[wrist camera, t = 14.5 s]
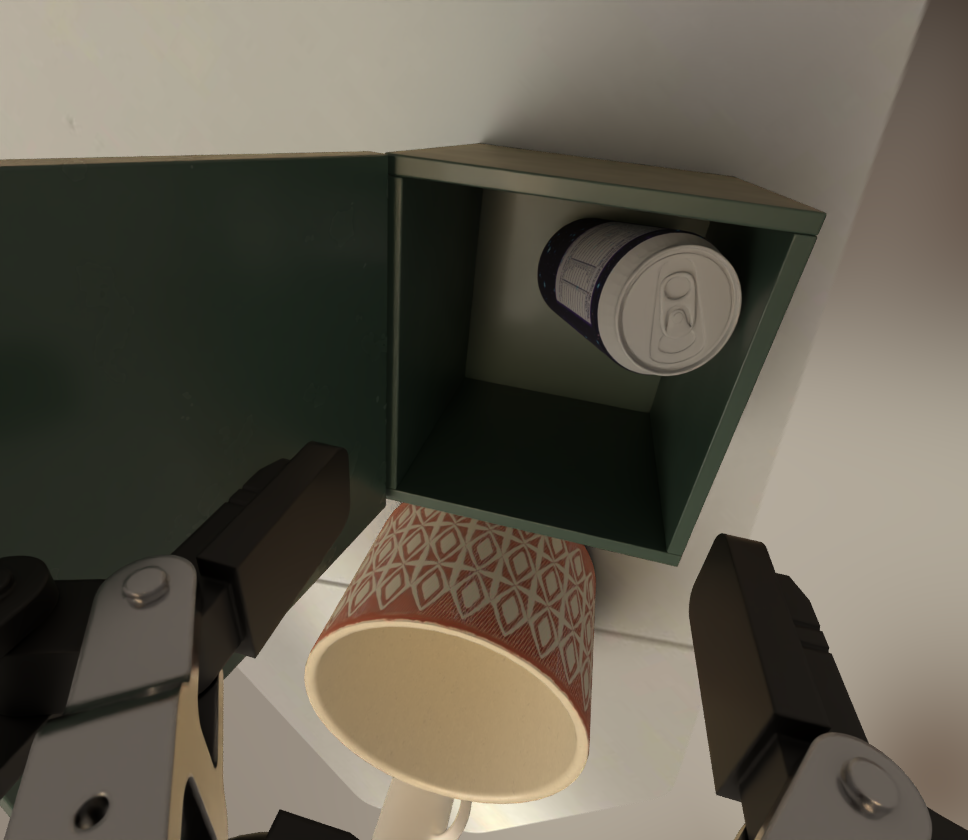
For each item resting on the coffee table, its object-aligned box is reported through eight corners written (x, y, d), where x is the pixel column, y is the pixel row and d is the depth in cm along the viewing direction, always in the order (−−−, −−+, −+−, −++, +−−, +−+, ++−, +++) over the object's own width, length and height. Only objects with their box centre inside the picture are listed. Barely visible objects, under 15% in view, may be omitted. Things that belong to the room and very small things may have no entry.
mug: (455, 735, 61) (428, 837, 52) (496, 773, 63) (477, 877, 54) (388, 752, 67) (354, 846, 58) (428, 786, 69) (400, 882, 60)
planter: (391, 610, 52) (321, 762, 40) (380, 455, 42) (282, 591, 30) (580, 651, 49) (568, 831, 36) (614, 494, 39) (614, 665, 27)
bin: (735, 176, 28) (828, 212, 16) (656, 418, 35) (677, 567, 23) (478, 143, 30) (384, 152, 18) (457, 379, 37) (382, 498, 25)
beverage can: (540, 326, 31) (611, 399, 20) (527, 227, 28) (599, 250, 18) (630, 307, 31) (748, 369, 20) (625, 208, 29) (756, 218, 18)
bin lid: (-497, 183, 5) (-526, 170, 5) (54, 862, 13) (33, 845, 13) (389, 154, 17) (368, 150, 17) (386, 506, 25) (372, 501, 25)
